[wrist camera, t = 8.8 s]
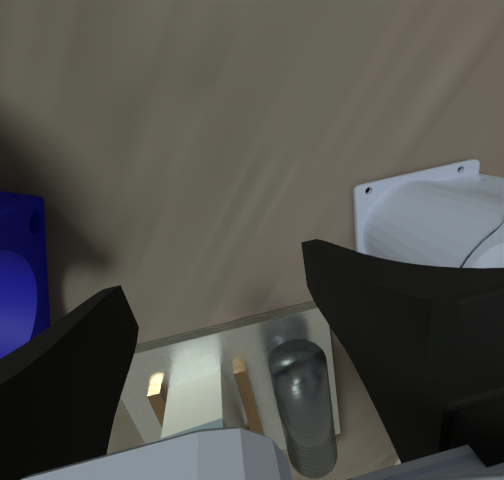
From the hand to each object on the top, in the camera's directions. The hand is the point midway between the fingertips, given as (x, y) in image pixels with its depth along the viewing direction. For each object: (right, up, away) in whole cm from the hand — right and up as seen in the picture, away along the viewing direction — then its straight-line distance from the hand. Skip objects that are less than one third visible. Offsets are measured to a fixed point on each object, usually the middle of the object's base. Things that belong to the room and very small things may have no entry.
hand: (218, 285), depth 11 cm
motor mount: (0, -12, +15) cm, 20 cm away
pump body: (-2, -13, +14) cm, 19 cm away
